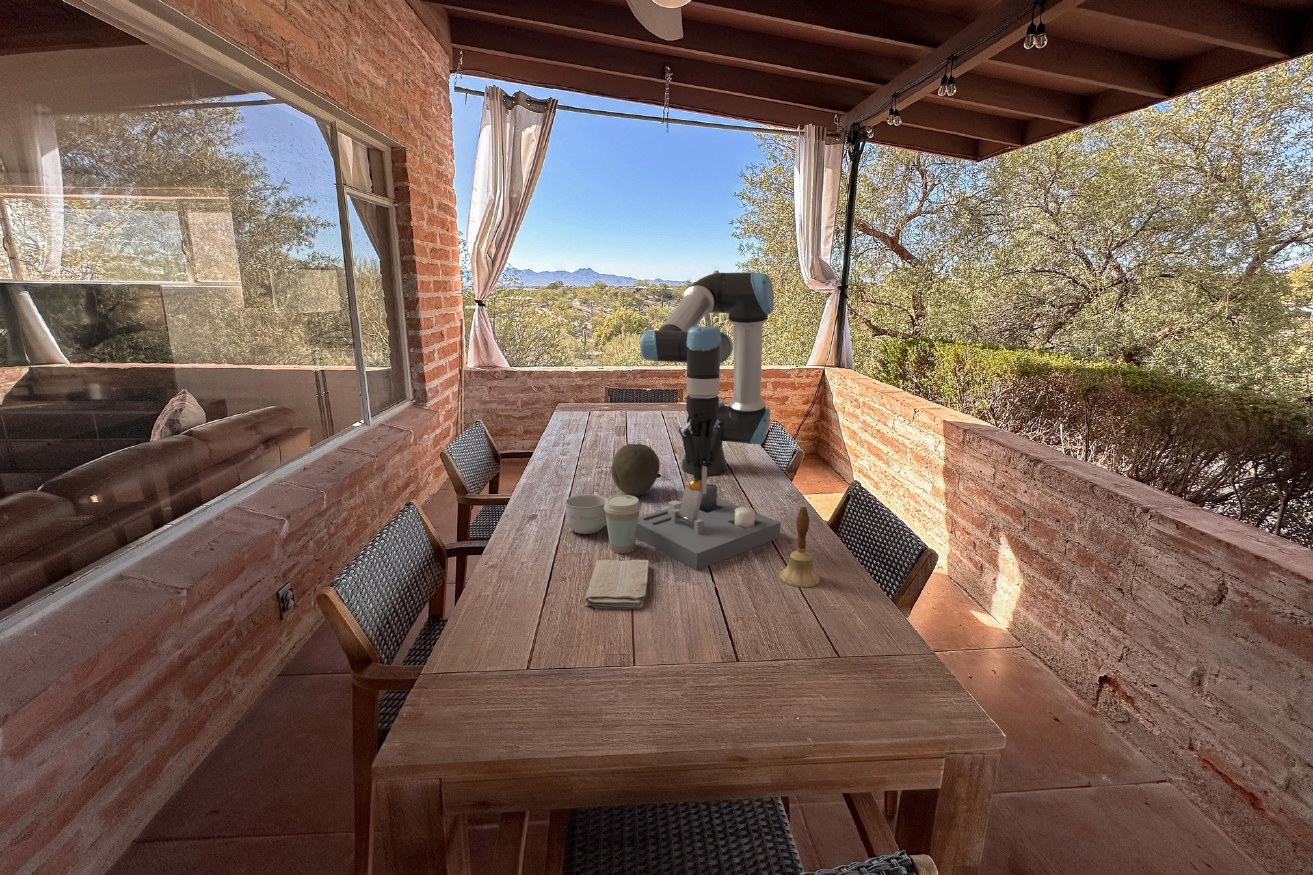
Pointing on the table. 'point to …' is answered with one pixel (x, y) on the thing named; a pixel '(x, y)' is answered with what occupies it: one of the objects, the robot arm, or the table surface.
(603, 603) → the washcloth
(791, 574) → the hand bell
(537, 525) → the table surface
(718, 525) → the panel
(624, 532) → the coffee cup
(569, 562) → the table surface
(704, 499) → the dark gray button
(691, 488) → the lever
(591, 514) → the teacup
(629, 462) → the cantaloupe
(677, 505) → the slider knob
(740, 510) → the cream button
